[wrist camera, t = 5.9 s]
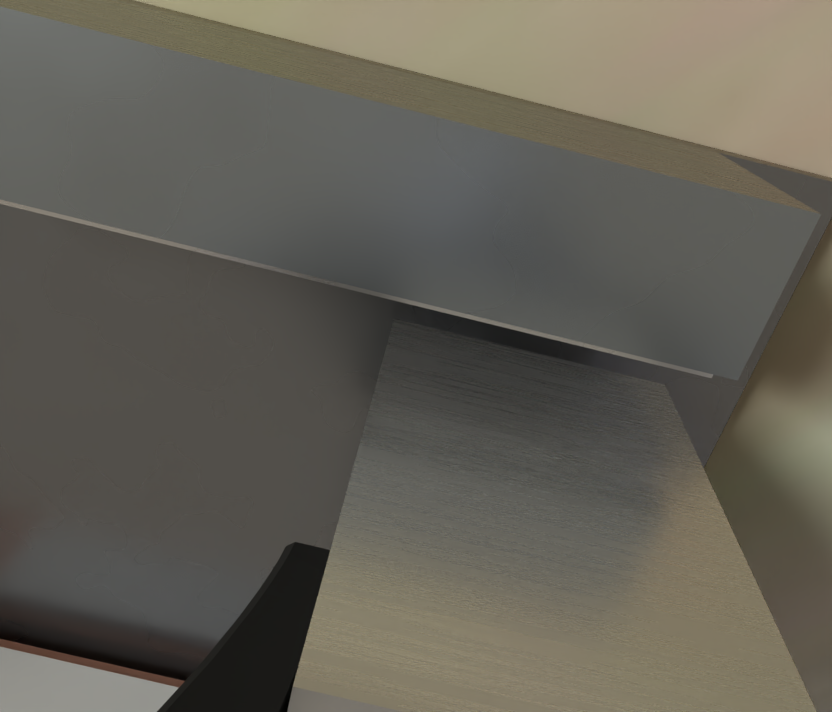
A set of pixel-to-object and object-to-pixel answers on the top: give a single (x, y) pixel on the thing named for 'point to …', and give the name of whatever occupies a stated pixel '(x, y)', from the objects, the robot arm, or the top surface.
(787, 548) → the top surface
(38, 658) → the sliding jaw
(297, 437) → the vise bed
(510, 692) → the steel block
